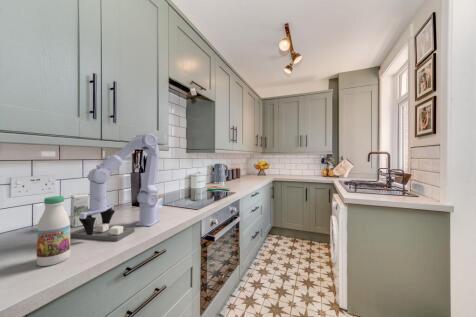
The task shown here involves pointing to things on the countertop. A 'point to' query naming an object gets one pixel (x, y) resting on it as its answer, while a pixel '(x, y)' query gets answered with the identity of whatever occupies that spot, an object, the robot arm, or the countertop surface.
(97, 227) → the switch
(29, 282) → the countertop surface
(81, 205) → the syrup box
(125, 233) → the switch panel
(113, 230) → the switch
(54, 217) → the milk bottle
